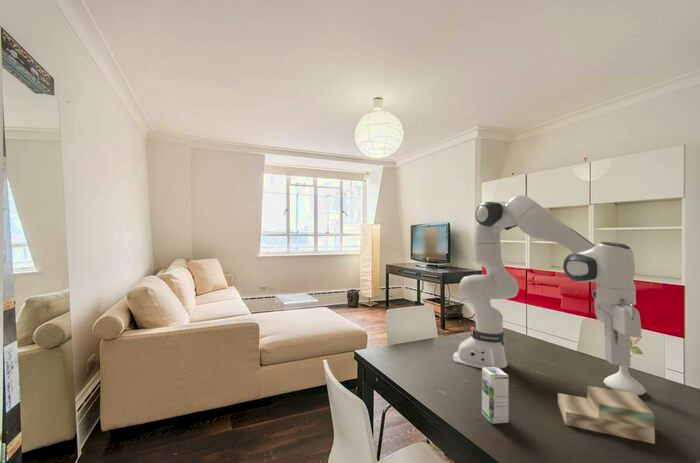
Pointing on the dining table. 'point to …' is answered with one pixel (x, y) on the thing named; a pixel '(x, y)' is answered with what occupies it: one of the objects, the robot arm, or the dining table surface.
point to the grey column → (615, 345)
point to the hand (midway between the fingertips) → (616, 343)
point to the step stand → (609, 413)
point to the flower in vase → (626, 375)
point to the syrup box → (495, 395)
